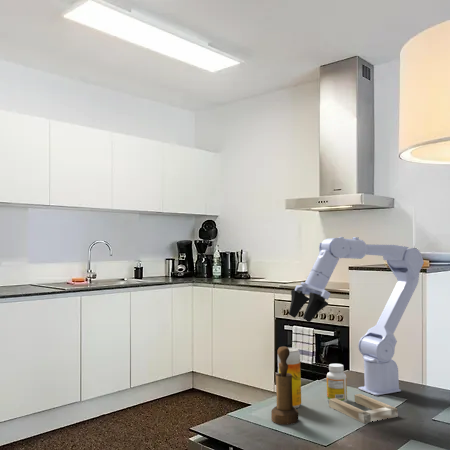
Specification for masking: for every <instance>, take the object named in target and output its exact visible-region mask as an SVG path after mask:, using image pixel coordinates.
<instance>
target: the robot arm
mask: <svg viewBox="0 0 450 450" xmlns="http://www.w3.org/2000/svg"><path fill="white" fill-rule="evenodd" d="M318 249H319V253H318V255H317V257H316V260H315V261H314V263H313V265H312V267H311V270H310V271H309V273H308V276H307V278H306V280H305V282H303V281H301V282H300V285H299V284H296V286H295V288H294V289H291V291H290V293H291V294H290V295H291V302H290V306H289V310H288V315H290V316H291V317H292V318H294V319H296V317H297V316H298V314H299V313H300V311H301V309H302V308H303V307H304V305H306V303H307V302H308V303H307V305H306V307H305V308H306V309H305V311H304V313H303V318H302V319H303V320H305V321H307V322H308V323H310V322H311V321H312V320H313V319H314V317H315V316H317V314H318V313H319V312H320V311H321V310H322V309H324V308H325V307H327V306H328V305H329V302H327V301H328V300H329V299H330V297H331V292H329V291H328V290H326V287H327V285H328V283H329V281H330V279H331V277H332V275H333V273H334V271H335V268H336V267H337V265H338V262H339V260H340V259H352V260H353V259H354V260H355V259H356V260H359V259H363V258H364V257H365V256H367V255H368V256H378V257H379V256H380V257H382V259H383V260H384V261H385V262H386V264H387V266H388V267H389V269H390V270H391V272H392V274H393V275H394V277H395V278H396V279H397V282H396V283H395V285H394V287H393V290H392V292H391V294H390V296H389V298H388V300H387V301H386V304H385V306H384V308H383V310H382V312H381V314H380V316H379V318H378V320H377V322H376V324H375V325H374V326H372V327H370V328H368V329H367V331H366V332H365V334H363V335H362V336H361V337H360V338H359V340H358V345H357V348H358V350H359V353H360V354H362V359H363V370H364V371H363V375H364V376H363V377H364V386H359V387H358V390H361V391H364V392H366V393H368V394H370V395H371V394H372V395H374V396H380V395H387V394H393V393H397V392H399V393H400V392H402V389H400V384H399V381H400V380H399V366H398V365H397V364H398V363H397V362H396V361H395V360H394V359H393V357H394V356H395V349H396V345H397V342H398V341H397V338H396V336H395V334H394V333H395V331H396V329H397V328H398V325H399V324H400V322H401V319H402V318H403V315H404V313H405V310H406V308H407V307H408V305H409V302H410V301H411V299H412V296H413V295H414V293H415V290H416V289H417V287H418V284H419V278H420V272H421V270H422V268H423V265H424V263H425V262H424V259H423V256H422V253H421V251H420V250H419V249H418V248H415V247H410V248H409V246H404V245H398V244H367V243H366V242H365V241H364V240H363V239H360V238H359V237H358V236H357V237H354V236H353V237H352V238H345V236H339V237H331V238H330V237H329V238H328V237H327V238H325V239H323V241H322V242H320V243H319V245H318ZM306 295H307V296H306ZM308 296H309V297H308Z"/></svg>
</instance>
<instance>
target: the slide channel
mask: <svg viewBox="0 0 450 450" xmlns="http://www.w3.org/2000/svg"><path fill="white" fill-rule="evenodd" d="M355 402H356V404H358V405H360V406H363V407H364V408H368V409H369V410H363V409H361V408H359V407H356V406H354V405H351V404H350V403H347V402H343V401H341V400H338V399H336V398H333V399H329V401H328V407H329V408H331V409H333V410H335V411H337V412H340V413H342V414H344V415H345V416H348V417H350V418H351V419H354V420H356V421H359V422H360V423H363V424H368V423H373V422H378V421H383V420H388V419H392V418H396V417H397V418H398V408H397V407H395V406H393V405H389V404H387V403H385V402H382V401H380V400H377V399H375V398H372V397H370V396H367V395H364V394H362V393H357V394H354V403H355ZM387 418H388V419H387ZM382 419H383V420H382ZM377 420H378V421H377ZM372 421H373V422H372Z"/></svg>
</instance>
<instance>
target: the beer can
mask: <svg viewBox="0 0 450 450" xmlns="http://www.w3.org/2000/svg"><path fill="white" fill-rule="evenodd" d="M287 348H288V349H289V352H290V354H289V356H288V358H287V361H286V363H287V364H288V370H287V373H290V374H292V404H293V407H295V409H297V408H299V407H300V406H301V404H302V377H301V376H302V375H301V374H302V373H301V372H302V371H301V368H302V367H301V353H300V350H299V348H296V347H287ZM280 363H281V360H280V358H279V356H278V355H277V374H278V373H281V372H280V368H279V364H280Z"/></svg>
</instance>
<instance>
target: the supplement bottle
mask: <svg viewBox="0 0 450 450" xmlns="http://www.w3.org/2000/svg"><path fill="white" fill-rule="evenodd" d="M328 370H329V372H327V374H326V399H327V401H328V402H329V399H333V398H336V399H338V400H341V401H343V402H345V403H347V401H348V389H347V388H348V387H347V384H348V383H347V374H346V373H345V372H344V370H345V369H344V364H342V363H330V364H328Z"/></svg>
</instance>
